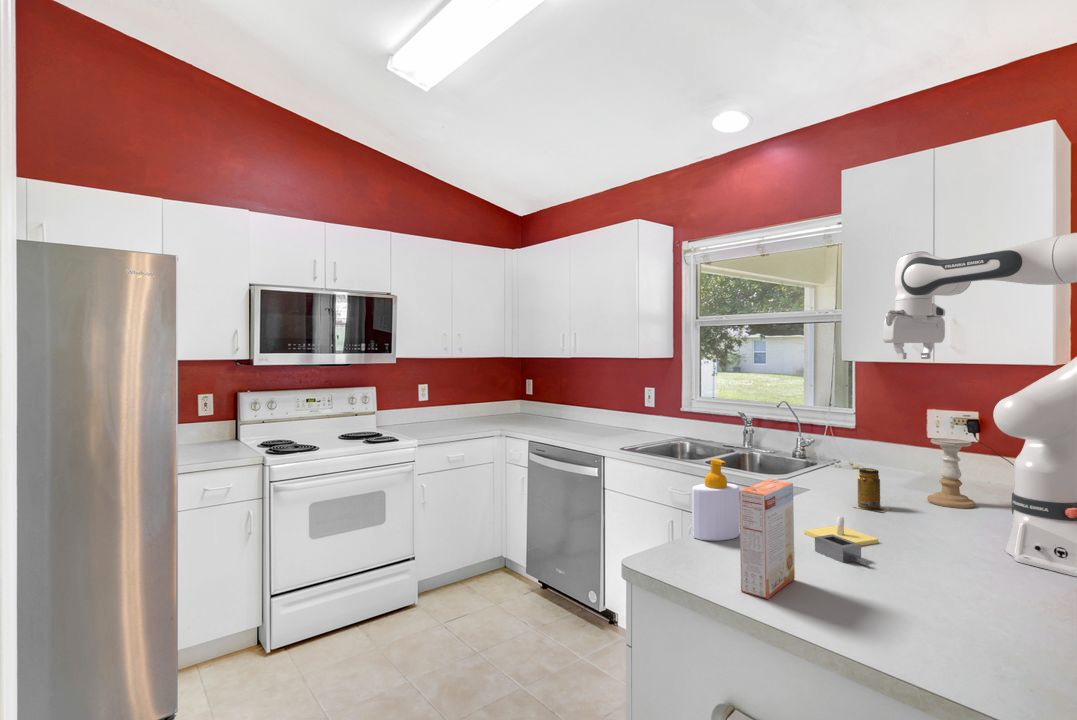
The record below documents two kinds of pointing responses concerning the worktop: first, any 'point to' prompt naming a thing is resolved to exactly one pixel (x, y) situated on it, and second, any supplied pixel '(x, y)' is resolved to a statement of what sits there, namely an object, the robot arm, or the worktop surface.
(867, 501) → the condiment
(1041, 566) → the robot arm
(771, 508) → the cracker box
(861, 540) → the keeper
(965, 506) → the candle holder
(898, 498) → the worktop surface
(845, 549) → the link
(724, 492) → the soap bottle
